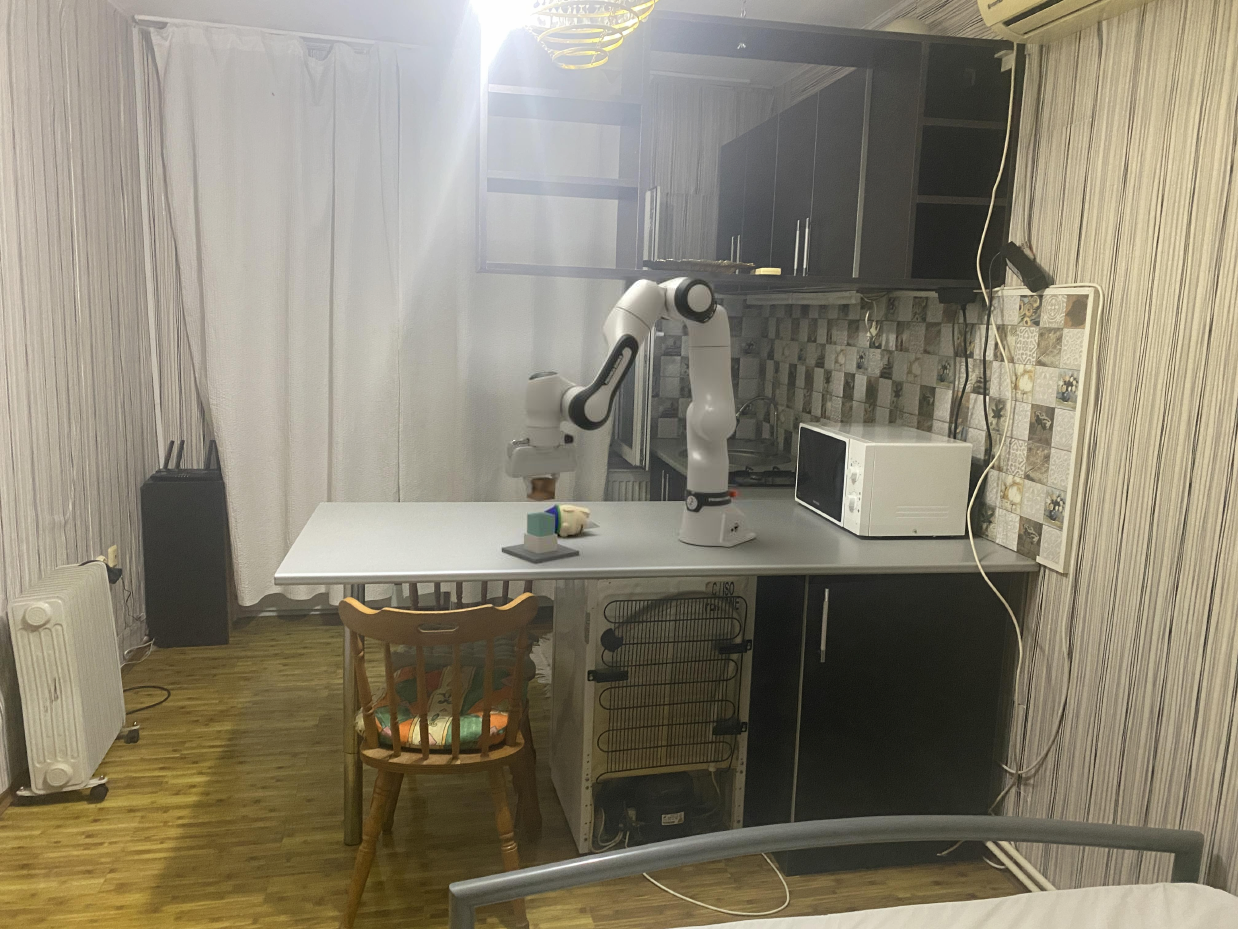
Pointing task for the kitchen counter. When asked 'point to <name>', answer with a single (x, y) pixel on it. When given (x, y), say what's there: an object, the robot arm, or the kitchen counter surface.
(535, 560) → the build board
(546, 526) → the teal block
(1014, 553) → the kitchen counter surface
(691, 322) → the robot arm
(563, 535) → the cartoon head
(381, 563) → the kitchen counter surface
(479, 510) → the kitchen counter surface
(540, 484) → the walnut block
